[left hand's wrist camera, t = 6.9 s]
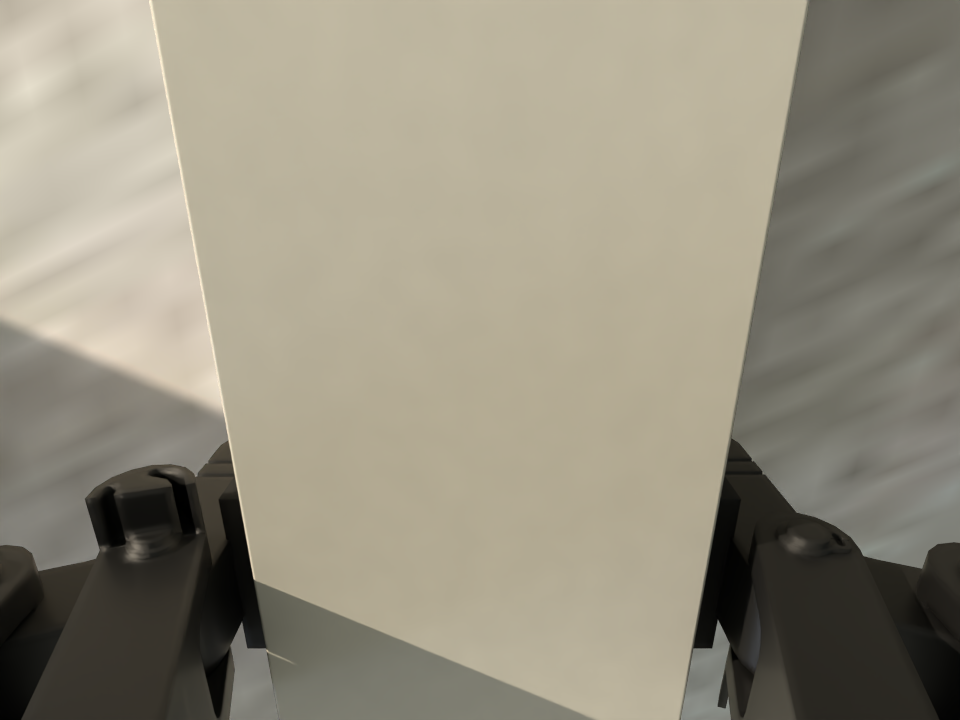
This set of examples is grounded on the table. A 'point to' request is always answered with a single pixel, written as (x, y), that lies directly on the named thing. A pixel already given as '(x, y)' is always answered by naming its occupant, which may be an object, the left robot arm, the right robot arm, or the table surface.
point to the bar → (479, 330)
